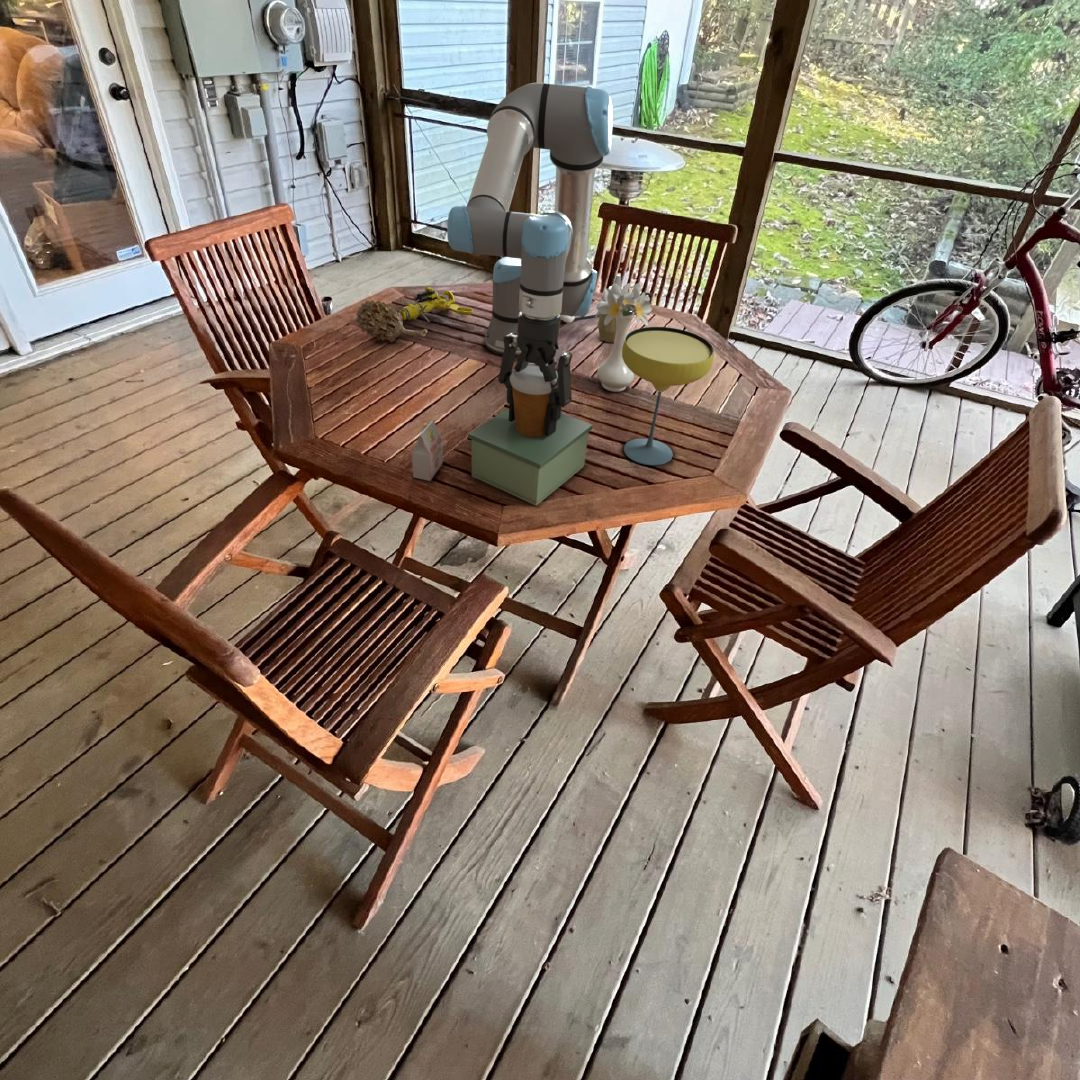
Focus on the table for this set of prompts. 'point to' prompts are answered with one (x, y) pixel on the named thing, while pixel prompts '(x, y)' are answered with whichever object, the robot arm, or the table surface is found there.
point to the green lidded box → (528, 456)
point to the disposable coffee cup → (530, 400)
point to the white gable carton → (427, 453)
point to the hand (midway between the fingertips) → (531, 425)
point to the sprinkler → (432, 304)
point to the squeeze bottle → (609, 330)
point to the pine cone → (382, 321)
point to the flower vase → (620, 331)
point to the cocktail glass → (663, 375)
